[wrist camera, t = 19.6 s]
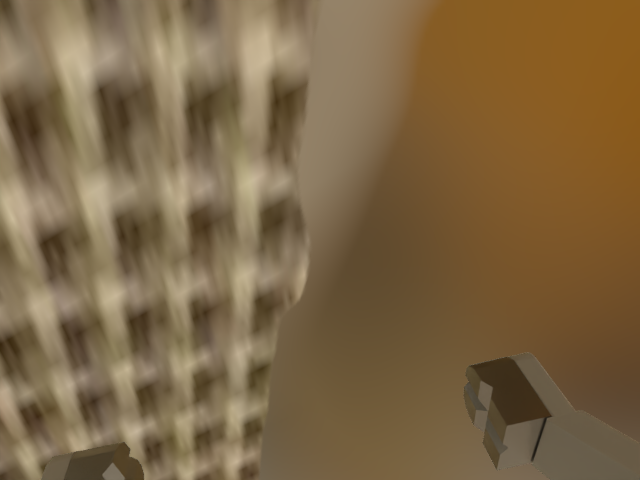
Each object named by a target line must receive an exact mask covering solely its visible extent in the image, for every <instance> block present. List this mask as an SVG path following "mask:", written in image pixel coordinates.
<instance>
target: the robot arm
mask: <svg viewBox="0 0 640 480" xmlns="http://www.w3.org/2000/svg"><path fill="white" fill-rule="evenodd" d="M466 377H467V379H468V381H469V382H468V383H467V384H466V386H465V387H464V400H465V405H466V409H467V411H468V414H469V416H470V418H471V420H472V423H473V425H474V426H476V427H477V428H479V429H480V430H481V431H483V432H484V438H483V445H484V446H485V448H486V450H487V452H488V454H489V456H490V458H491V460H492V462H493V464H494V466H495V468H496V470H500V469H505V468H510V467H515V466H519V465H524V464H529V463H532V465H533V466H534V467H535V468H536V469H537V470H539V471H540V472H542V474H544V475H545V476H546V477H547V478H549V479H550V480H640V443H638V442H637V441H635V440H633V439H631V438H630V437H628V436H626V435H624V434H623V433H621V432H619V431H617V430H615V429H614V428H612V427H610V426H609V425H607V424H605V423H604V422H602V421H600V420H598V419H596V418H595V417H593V416H591V415H590V414H588V413H586V412H584V411H582V410H580V411H575V410H574V408H573V407H572V406H571V404H570V403H569V402H568V400H567V399H566V398H565V396H564V395H563V394H562V392H561V391H560V390H559V388H558V387H557V386H556V384H555V383H554V382H553V380H552V379H551V378H550V376H549V375H548V374H547V372H546V371H545V370H544V368H543V367H542V366H541V364H540V363H539V362H538V360H537V359H536V358H535V356H534V355H532V354H531V353H523V354H519V355H515V356H510V357H504V358H499V359H495V360H491V361H486V362H482V363H478V364H474V365H470V366H468V367H467V369H466ZM129 454H130V448H129V447H128V446H127V444H126V443H125V442H121V443H116V444H111V445H107V446H102V447H97V448H92V449H88V450H83V451H76V452H72V453H67V454H63V455H58V456H54V457H52V459H51V460H50V461H49V463H48V464H47V465H46V468H45V470H44V473H43V476H42V479H41V480H144V472H143V469H142V466H141V464H140V462H139V461H138V460H137V459H135V458H132V457H129Z"/></svg>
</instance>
